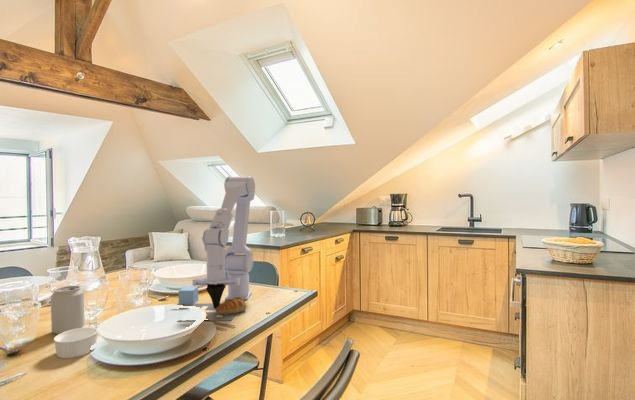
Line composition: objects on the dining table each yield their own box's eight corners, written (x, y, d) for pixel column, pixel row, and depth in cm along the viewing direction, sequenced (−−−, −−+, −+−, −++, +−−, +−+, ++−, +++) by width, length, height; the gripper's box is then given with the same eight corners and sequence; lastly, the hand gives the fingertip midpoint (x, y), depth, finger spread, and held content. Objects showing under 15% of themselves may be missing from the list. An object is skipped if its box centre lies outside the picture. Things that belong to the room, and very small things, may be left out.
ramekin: (64, 363, 80) (64, 344, 80) (47, 354, 84) (46, 336, 84) (105, 348, 87) (105, 331, 87) (87, 341, 92) (87, 324, 92)
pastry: (224, 317, 107) (224, 305, 107) (211, 313, 111) (210, 301, 111) (248, 309, 114) (248, 298, 114) (234, 305, 118) (234, 294, 118)
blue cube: (184, 300, 125) (183, 286, 125) (198, 300, 125) (198, 286, 125) (178, 305, 120) (178, 290, 120) (193, 305, 120) (193, 290, 120)
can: (90, 327, 101) (89, 285, 101) (64, 337, 94) (63, 292, 94) (72, 324, 104) (70, 283, 103) (45, 334, 96) (43, 290, 96)
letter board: (195, 304, 121) (195, 303, 121) (242, 303, 121) (242, 303, 121) (177, 321, 105) (177, 320, 105) (231, 320, 105) (231, 320, 105)
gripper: (188, 268, 109) (189, 311, 109) (235, 267, 109) (236, 311, 109) (196, 263, 116) (197, 304, 116) (240, 263, 116) (241, 304, 116)
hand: (216, 307), depth 113 cm, fingers closed
